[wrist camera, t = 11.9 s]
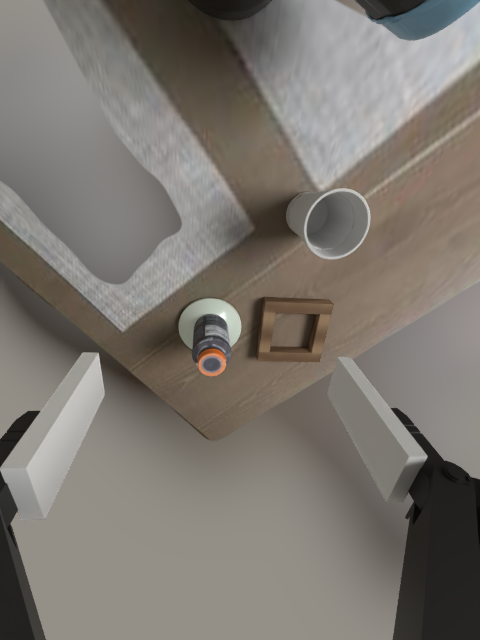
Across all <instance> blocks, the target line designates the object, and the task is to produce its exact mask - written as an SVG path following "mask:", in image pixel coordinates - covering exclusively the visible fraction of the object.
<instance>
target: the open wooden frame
mask: <svg viewBox="0 0 480 640" xmlns="http://www.w3.org/2000/svg"><path fill="white" fill-rule="evenodd" d="M333 305H334V304H333V303H332V302H331V301H330V300H321V299H298V298H275V297H264V298H263V306H262V314H261V321H260V329H259V337H258V344H257V352H256V357H257V360H258V361H285V362H320V358H321V354H322V350H323V346H324V342H325V338H326V334H327V330H328V326H329V322H330V318H331V314H332V310H333ZM276 313H298V314H315V319H314V323H313V328H312V332H311V337H310V341H309V346H308V347H270V346H271V340H272V333H273V327H274V320H275V314H276Z"/></svg>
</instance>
